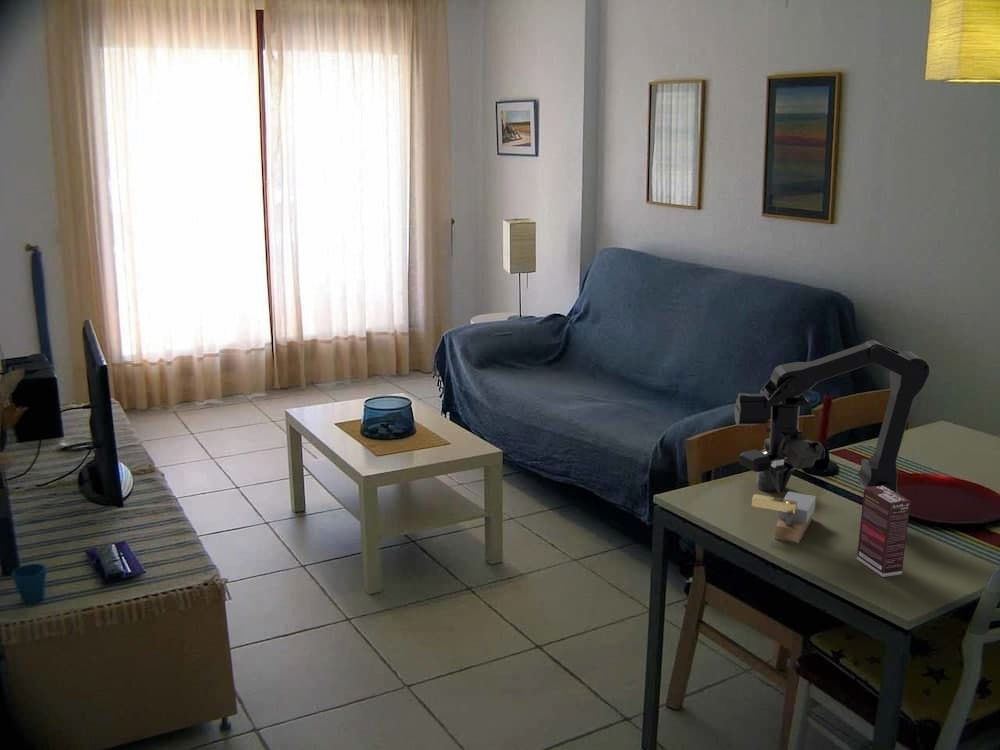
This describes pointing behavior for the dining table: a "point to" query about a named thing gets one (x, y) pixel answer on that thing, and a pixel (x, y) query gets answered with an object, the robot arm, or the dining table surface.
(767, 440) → the supplement bottle
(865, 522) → the supplement box
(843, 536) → the dining table surface
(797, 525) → the key box
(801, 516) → the cover
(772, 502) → the tan rectangular bar
